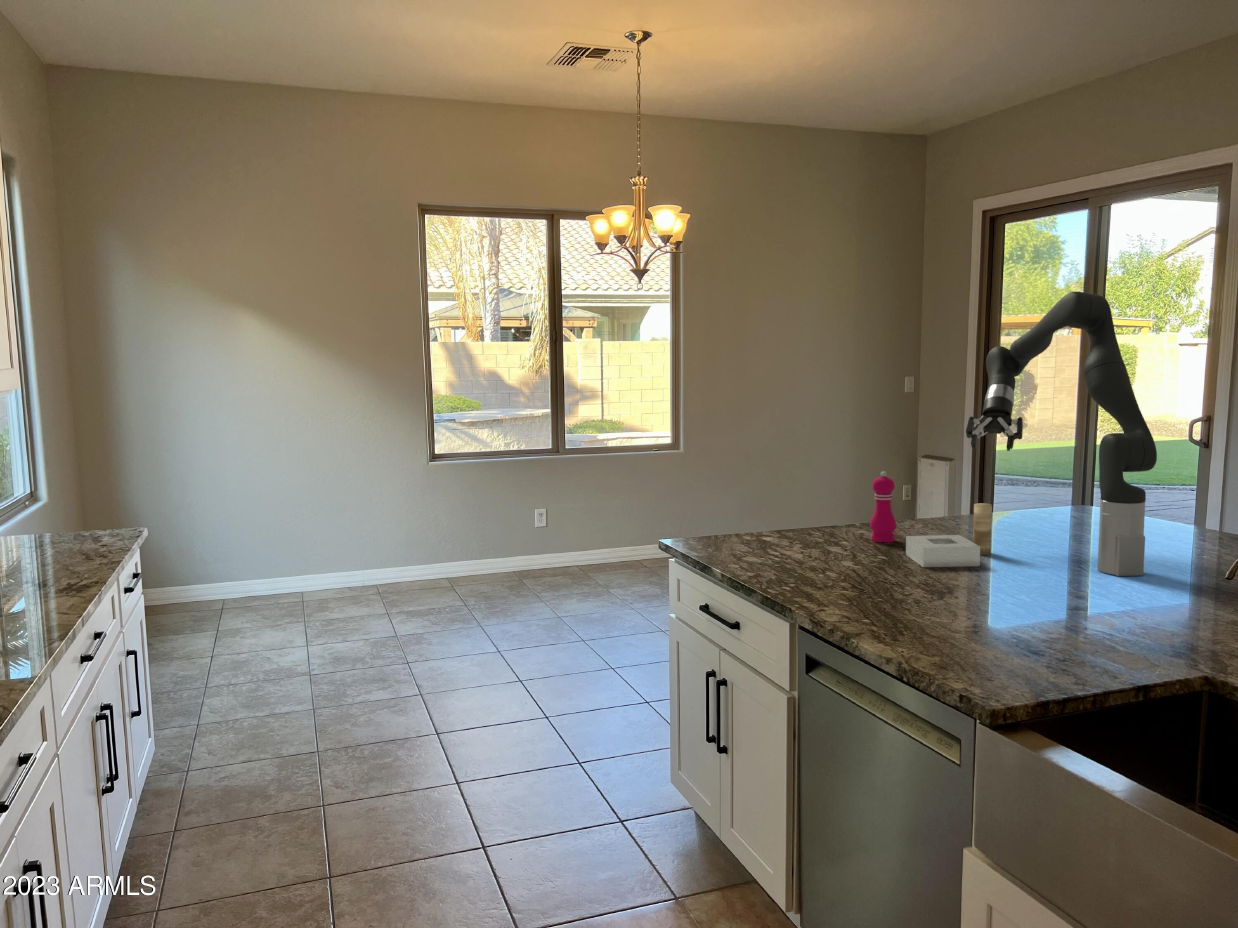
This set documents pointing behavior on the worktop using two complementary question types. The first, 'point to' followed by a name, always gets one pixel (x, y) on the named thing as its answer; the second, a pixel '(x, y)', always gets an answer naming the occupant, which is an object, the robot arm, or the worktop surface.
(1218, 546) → the worktop surface
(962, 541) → the white square frame block
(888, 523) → the pepper mill
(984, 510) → the peg
